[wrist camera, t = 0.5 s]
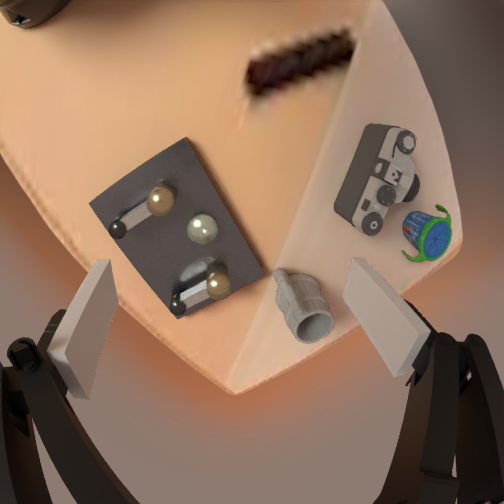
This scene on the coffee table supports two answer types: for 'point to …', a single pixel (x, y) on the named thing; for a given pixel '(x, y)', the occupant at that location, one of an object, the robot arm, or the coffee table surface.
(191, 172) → the control panel
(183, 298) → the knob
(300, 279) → the mug
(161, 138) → the coffee table surface
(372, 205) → the camera
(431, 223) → the snack cup
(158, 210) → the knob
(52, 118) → the coffee table surface
